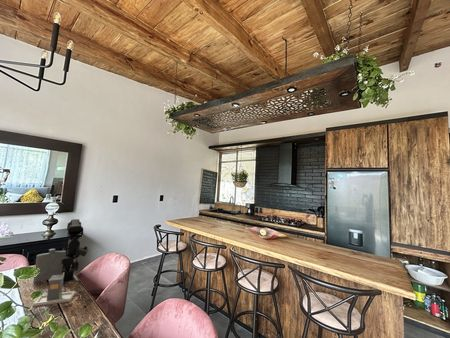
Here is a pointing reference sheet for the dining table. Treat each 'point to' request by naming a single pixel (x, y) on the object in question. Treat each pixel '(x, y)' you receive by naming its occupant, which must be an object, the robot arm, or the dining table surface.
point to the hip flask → (49, 264)
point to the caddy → (55, 287)
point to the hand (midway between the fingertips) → (70, 269)
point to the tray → (64, 298)
